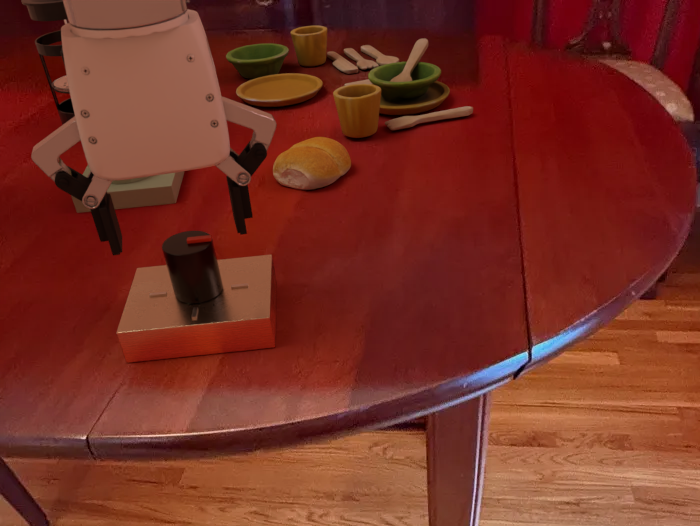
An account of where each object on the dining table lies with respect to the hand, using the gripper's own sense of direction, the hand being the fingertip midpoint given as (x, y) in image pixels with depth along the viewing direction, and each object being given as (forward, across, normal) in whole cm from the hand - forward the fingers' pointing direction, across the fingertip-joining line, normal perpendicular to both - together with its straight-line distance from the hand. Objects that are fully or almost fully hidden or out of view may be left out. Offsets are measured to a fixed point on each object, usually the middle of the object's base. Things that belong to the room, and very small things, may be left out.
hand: (180, 236), depth 57 cm
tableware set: (+8, -24, -53) cm, 59 cm away
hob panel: (+8, -1, 0) cm, 8 cm away
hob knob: (+5, -1, 0) cm, 5 cm away
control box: (+8, +5, -30) cm, 32 cm away
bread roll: (+8, -15, -25) cm, 31 cm away
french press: (+9, +10, -54) cm, 56 cm away
